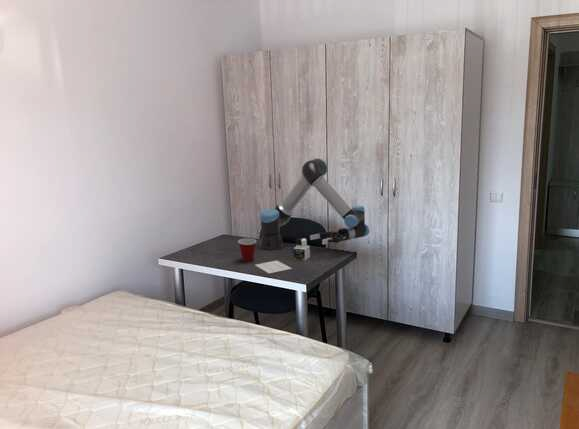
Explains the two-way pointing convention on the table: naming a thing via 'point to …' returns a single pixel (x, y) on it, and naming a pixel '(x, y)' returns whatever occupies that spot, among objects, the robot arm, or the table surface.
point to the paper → (273, 266)
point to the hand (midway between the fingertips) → (316, 239)
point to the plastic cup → (247, 249)
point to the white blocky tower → (301, 250)
